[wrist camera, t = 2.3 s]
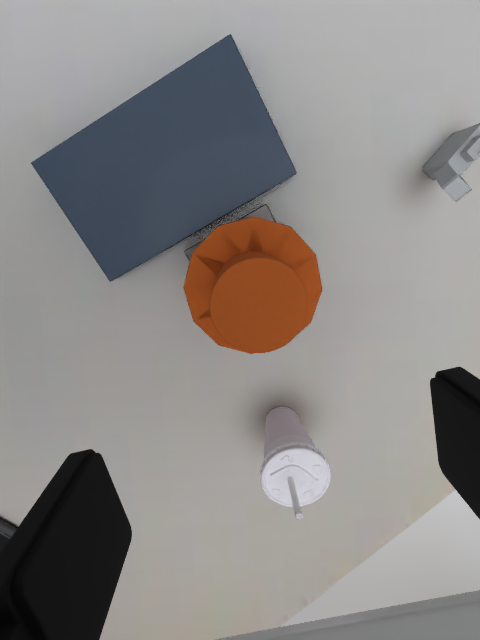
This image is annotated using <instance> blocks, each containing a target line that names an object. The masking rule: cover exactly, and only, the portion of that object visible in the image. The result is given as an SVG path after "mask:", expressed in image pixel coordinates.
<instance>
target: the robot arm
mask: <svg viewBox="0 0 480 640" xmlns="http://www.w3.org/2000/svg"><path fill="white" fill-rule="evenodd" d="M430 387H431V397H432V406H433V415H434V424H435V434H436V443H437V452H438V461H439V465H440V468H441V470H442V472H443V474H444V475H445V477H446V478H447V479H448V481H449V482H450V483H451V484H452V485H453V487H454V488H455V489H456V490H457V491H458V493H459V494H460V495H461V497H462V498H463V499H464V500H465V502H466V503H467V504H468V505H469V506H470V508H471V509H472V510H473V512H474V513H475V514H476V515H477V516H478V518H479V519H480V379H478V378H477V377H475V376H474V375H472V374H471V373H469V372H468V371H466V370H465V369H463V368H461V367H456V368H451V369H447V370H442V371H438V372H437V373H436V375H435V378H432V379H431V380H430ZM131 537H132V531H131V526H130V523H129V521H128V518H127V516H126V514H125V511H124V509H123V506H122V504H121V501H120V499H119V496H118V494H117V492H116V489H115V487H114V484H113V482H112V479H111V477H110V475H109V472H108V470H107V467H106V465H105V462H104V460H103V458H102V456H101V454H100V453H95V452H94V451H93V450H91V449H89V450H85V451H80V452H76V453H72V454H70V455H69V456H68V457H67V458H66V460H65V461H64V463H63V464H62V465H61V467H60V468H59V470H58V471H57V473H56V474H55V475H54V477H53V478H52V480H51V481H50V483H49V484H48V485H47V487H46V488H45V490H44V491H43V493H42V494H41V496H40V497H39V498H38V500H37V501H36V503H35V504H34V506H33V507H32V508H31V510H30V511H29V513H28V514H27V516H26V517H25V518H24V520H23V521H22V523H21V524H20V526H19V527H18V528H17V530H16V531H15V533H14V534H13V536H12V537H11V538H10V540H9V541H8V543H7V544H6V546H5V547H4V548H3V550H2V551H1V553H0V640H99V638H100V635H101V632H102V629H103V626H104V623H105V620H106V617H107V614H108V611H109V607H110V604H111V601H112V598H113V595H114V592H115V589H116V586H117V583H118V580H119V576H120V573H121V570H122V567H123V564H124V561H125V558H126V555H127V552H128V549H129V545H130V542H131ZM216 640H480V590H479V591H473V592H468V593H463V594H457V595H451V596H447V597H441V598H435V599H429V600H425V601H419V602H413V603H408V604H403V605H397V606H391V607H387V608H380V609H375V610H369V611H364V612H358V613H353V614H348V615H343V616H337V617H332V618H326V619H321V620H316V621H311V622H305V623H300V624H295V625H289V626H284V627H279V628H273V629H268V630H263V631H258V632H252V633H247V634H242V635H237V636H231V637H226V638H221V639H216Z"/></svg>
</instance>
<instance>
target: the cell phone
mask: <svg viewBox="0 0 480 640" xmlns="http://www.w3.org/2000/svg"><path fill="white" fill-rule="evenodd" d="M16 530H17V528H15V527H14V526H12V525H10V524H8V523H7V522H5V521H3V520H2V519H0V553H1V551H2V550H3V548H4V547H5V546H6V544H7V543H8V541H9V540H10V538H11V537H12V536H13V534H14V533H15V531H16Z"/></svg>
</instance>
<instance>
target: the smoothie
mask: <svg viewBox="0 0 480 640" xmlns="http://www.w3.org/2000/svg"><path fill="white" fill-rule="evenodd" d="M260 477H261V482H262V487H263V490H264V492H265V493H266V495H267V496H268V497H269V498H270V499H271V500H273V501H274V502H276V503H278V504H280V505H283V506H288V507H293V508H294V513H295V517H296V519H301V518H302V512H301V508H300V506H305V505H308V504H310V503H313V502H314V501H316V500H317V499H319V498H320V497H321V496H322V495H323V494H324V493H325V491H326V490H327V488H328V486H329V483H330V479H331V473H330V469H329V465H328V461H327V459H326V457H325V455H324V454H323V453H322V452H321V451H320V450H319V449H317V448H316V446H315V445H314V443H313V442H312V440H311V438H310V437H309V435H308V433H307V432H306V430H305V428H304V427H303V425H302V423H301V421H300V420H299V418H298V416H297V415H296V413H295V412H294V411H293V410H292V409H290V408H288V407H277V408H274V409H273V410H271V411H270V412H269V413H268V415H267V417H266V427H265V447H264V460H263V463H262V465H261V469H260Z"/></svg>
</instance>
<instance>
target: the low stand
mask: <svg viewBox="0 0 480 640" xmlns="http://www.w3.org/2000/svg"><path fill="white" fill-rule="evenodd" d="M31 164H32V165H33V167H34V168H35V170H36V171H37V173H38V174H39V176H40V177H41V179H42V180H43V182H44V183H45V185H46V186H47V188H48V189H49V191H50V192H51V194H52V195H53V197H54V198H55V200H56V201H57V203H58V204H59V206H60V207H61V209H62V210H63V212H64V213H65V215H66V216H67V218H68V219H69V221H70V222H71V224H72V225H73V227H74V228H75V230H76V231H77V233H78V234H79V236H80V237H81V239H82V240H83V242H84V243H85V245H86V246H87V248H88V249H89V251H90V252H91V254H92V255H93V257H94V258H95V260H96V261H97V263H98V264H99V266H100V267H101V269H102V270H103V272H104V273H105V275H106V276H107V278H108V279H109V281H113V280H114V279H116V278H118V277H120V276H122V275H123V274H125V273H127V272H129V271H130V270H132V269H134V268H135V267H137V266H139V265H141V264H142V263H144V262H146V261H147V260H149V259H151V258H153V257H154V256H156V255H158V254H159V253H161V252H163V251H165V250H166V249H168V248H170V247H171V246H173V245H175V244H177V243H178V242H180V241H182V240H184V239H185V238H187V237H189V236H190V235H192V234H194V233H196V232H197V231H199V230H201V229H202V228H204V227H206V226H208V225H209V224H211V223H213V222H214V221H216V220H218V219H220V218H221V217H223V216H225V215H226V214H228V213H230V212H232V211H233V210H235V209H237V208H238V207H240V206H242V205H244V204H245V203H247V202H249V201H251V200H252V199H254V198H256V197H257V196H259V195H261V194H263V193H264V192H266V191H268V190H269V189H271V188H273V187H275V186H276V185H278V184H280V183H281V182H283V181H285V180H287V179H288V178H290V177H292V176H293V175H295V174H296V170H295V168H294V166H293V164H292V162H291V160H290V158H289V156H288V153H287V151H286V149H285V147H284V145H283V143H282V141H281V139H280V137H279V134H278V132H277V130H276V128H275V126H274V124H273V122H272V120H271V118H270V116H269V113H268V111H267V109H266V107H265V105H264V103H263V101H262V99H261V97H260V95H259V92H258V90H257V88H256V86H255V84H254V82H253V80H252V78H251V76H250V73H249V71H248V69H247V67H246V65H245V63H244V61H243V59H242V57H241V55H240V52H239V50H238V48H237V46H236V44H235V42H234V40H233V38H232V36H231V34H230V35H228V36H226V37H225V38H223V39H222V40H220V41H219V42H217V43H216V44H214V45H213V46H211V47H209V48H208V49H206V50H205V51H203V52H202V53H200V54H199V55H197V56H196V57H194V58H192V59H191V60H189V61H188V62H186V63H185V64H183V65H182V66H180V67H179V68H177V69H175V70H174V71H172V72H171V73H169V74H168V75H166V76H165V77H163V78H162V79H160V80H158V81H157V82H155V83H154V84H152V85H151V86H149V87H148V88H146V89H145V90H143V91H141V92H140V93H138V94H137V95H135V96H134V97H132V98H131V99H129V100H128V101H126V102H124V103H123V104H121V105H120V106H118V107H117V108H115V109H114V110H112V111H111V112H109V113H107V114H106V115H104V116H103V117H101V118H100V119H98V120H97V121H95V122H94V123H92V124H90V125H89V126H87V127H86V128H84V129H83V130H81V131H80V132H78V133H77V134H75V135H73V136H72V137H70V138H69V139H67V140H66V141H64V142H63V143H61V144H60V145H58V146H56V147H55V148H53V149H52V150H50V151H49V152H47V153H46V154H44V155H42V156H41V157H39V158H38V159H36V160H35V161H33V162H32V163H31Z"/></svg>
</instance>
